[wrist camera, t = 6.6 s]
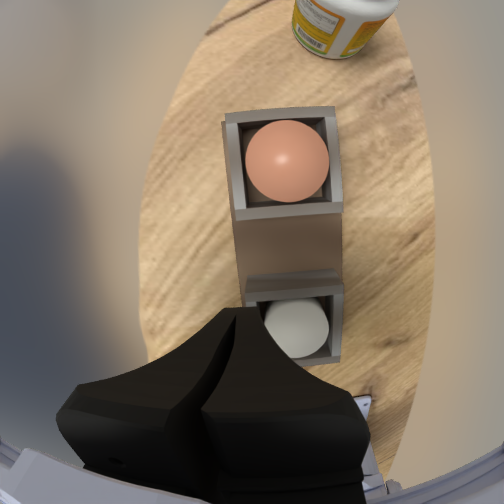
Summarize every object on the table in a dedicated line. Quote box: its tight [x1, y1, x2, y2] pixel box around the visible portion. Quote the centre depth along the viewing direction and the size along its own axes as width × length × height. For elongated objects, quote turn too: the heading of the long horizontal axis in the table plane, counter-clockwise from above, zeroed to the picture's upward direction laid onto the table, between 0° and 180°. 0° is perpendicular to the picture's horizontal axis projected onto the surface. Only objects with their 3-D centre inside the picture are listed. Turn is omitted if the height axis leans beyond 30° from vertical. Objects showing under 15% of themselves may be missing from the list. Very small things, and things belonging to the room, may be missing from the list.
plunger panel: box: [221, 106, 344, 367], centre depth 18 cm, size 16×7×4 cm, turn 6°
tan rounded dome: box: [245, 120, 329, 202], centre depth 14 cm, size 4×4×2 cm
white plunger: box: [264, 297, 329, 358], centre depth 18 cm, size 4×4×2 cm
